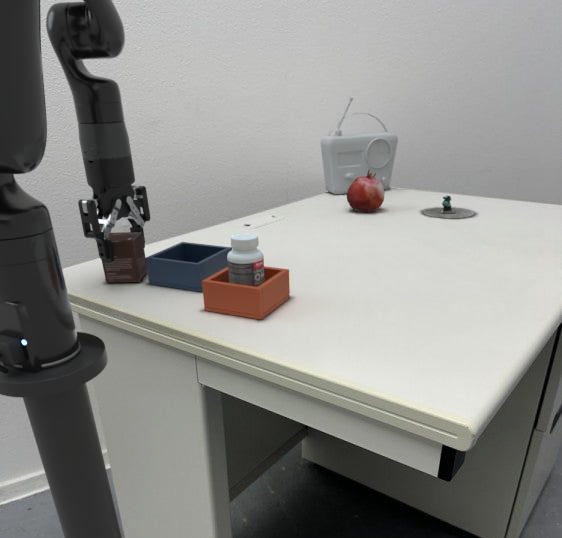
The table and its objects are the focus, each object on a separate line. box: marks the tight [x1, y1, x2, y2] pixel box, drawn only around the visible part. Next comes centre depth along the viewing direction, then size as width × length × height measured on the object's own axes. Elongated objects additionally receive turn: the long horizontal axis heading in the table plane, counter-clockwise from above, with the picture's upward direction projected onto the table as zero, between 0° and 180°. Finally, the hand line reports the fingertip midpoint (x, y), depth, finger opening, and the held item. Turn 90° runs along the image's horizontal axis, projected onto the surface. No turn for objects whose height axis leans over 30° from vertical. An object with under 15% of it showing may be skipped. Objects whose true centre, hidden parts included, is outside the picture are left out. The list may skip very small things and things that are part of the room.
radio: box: [320, 96, 399, 195], centre depth 155 cm, size 22×8×25 cm, turn 109°
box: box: [101, 231, 148, 284], centre depth 94 cm, size 6×6×7 cm
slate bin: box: [145, 241, 233, 293], centre depth 94 cm, size 11×11×5 cm
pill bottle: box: [227, 232, 265, 287], centre depth 81 cm, size 5×5×10 cm
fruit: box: [346, 170, 385, 213], centre depth 136 cm, size 9×10×10 cm
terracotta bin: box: [202, 265, 291, 320], centre depth 82 cm, size 10×10×5 cm
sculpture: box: [422, 195, 475, 219], centre depth 133 cm, size 12×9×8 cm
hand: (124, 254), depth 94 cm, fingers closed on box, 7 cm apart
